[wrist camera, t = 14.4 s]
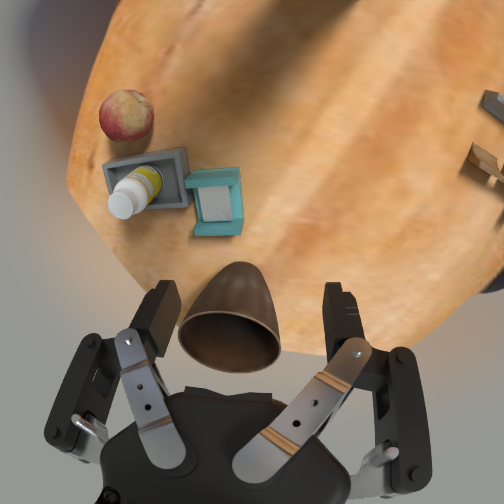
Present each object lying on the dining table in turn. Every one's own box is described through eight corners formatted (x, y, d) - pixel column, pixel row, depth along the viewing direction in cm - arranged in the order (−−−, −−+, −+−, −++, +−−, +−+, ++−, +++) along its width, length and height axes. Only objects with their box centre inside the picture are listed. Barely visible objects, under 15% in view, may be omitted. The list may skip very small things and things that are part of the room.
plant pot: (188, 278, 52) (162, 344, 39) (232, 226, 44) (211, 294, 31) (249, 315, 56) (240, 382, 43) (299, 274, 49) (303, 346, 36)
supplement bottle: (143, 198, 42) (114, 228, 34) (129, 170, 39) (96, 194, 31) (170, 189, 41) (143, 218, 33) (156, 158, 38) (125, 181, 30)
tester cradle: (193, 170, 39) (184, 180, 36) (239, 167, 39) (234, 177, 35) (202, 221, 44) (194, 236, 41) (244, 220, 44) (240, 235, 40)
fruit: (169, 125, 35) (145, 135, 29) (128, 142, 37) (100, 157, 31) (153, 79, 31) (125, 81, 25) (112, 100, 33) (82, 108, 27)
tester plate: (199, 184, 38) (197, 187, 38) (229, 182, 38) (227, 185, 37) (205, 218, 42) (203, 221, 41) (233, 217, 41) (232, 220, 40)
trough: (111, 159, 39) (101, 164, 36) (185, 146, 37) (178, 151, 35) (123, 204, 44) (114, 212, 41) (193, 199, 42) (188, 207, 40)
